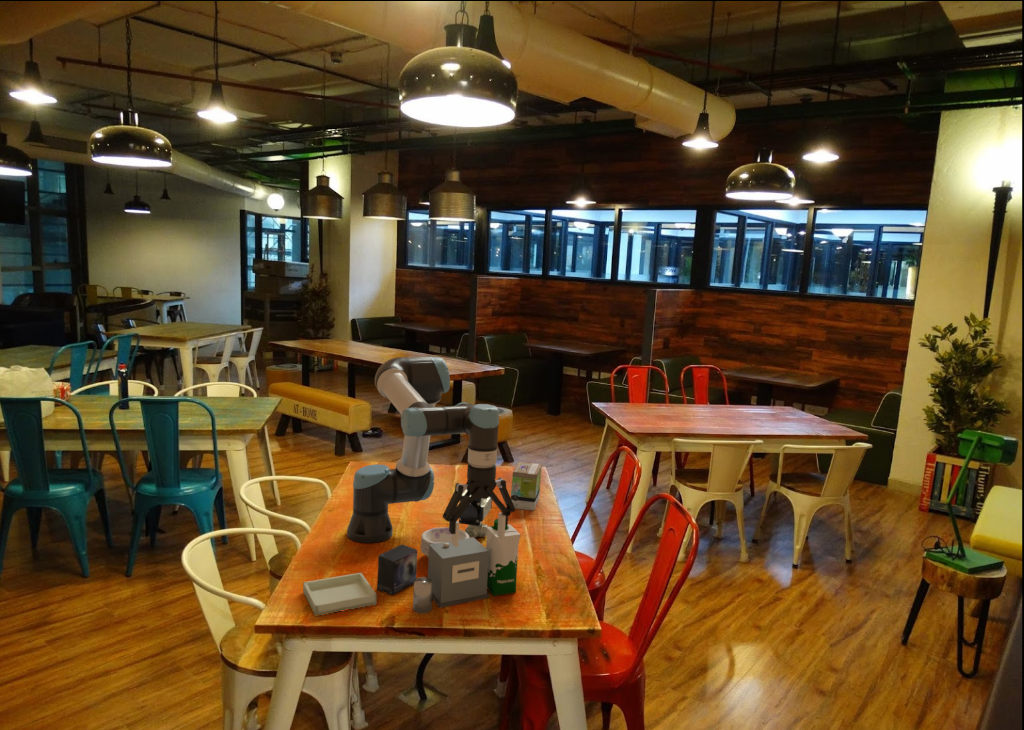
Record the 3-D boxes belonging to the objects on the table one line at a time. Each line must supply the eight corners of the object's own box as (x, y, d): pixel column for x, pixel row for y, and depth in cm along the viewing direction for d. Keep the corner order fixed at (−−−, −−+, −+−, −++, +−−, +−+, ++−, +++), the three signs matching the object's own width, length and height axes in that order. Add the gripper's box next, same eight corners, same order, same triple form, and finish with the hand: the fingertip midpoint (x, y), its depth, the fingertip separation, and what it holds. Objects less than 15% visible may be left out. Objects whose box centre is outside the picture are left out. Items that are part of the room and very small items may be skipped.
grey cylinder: (410, 606, 191) (411, 578, 190) (427, 602, 194) (428, 575, 192) (416, 614, 187) (417, 586, 186) (434, 611, 189) (435, 583, 188)
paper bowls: (450, 545, 233) (451, 522, 232) (477, 562, 221) (479, 538, 220) (411, 555, 223) (412, 532, 222) (437, 573, 212) (438, 548, 210)
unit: (424, 590, 201) (426, 541, 198) (472, 581, 208) (474, 533, 205) (439, 607, 191) (441, 556, 189) (488, 597, 198) (491, 548, 196)
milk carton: (508, 580, 210) (511, 516, 207) (520, 593, 202) (524, 528, 199) (480, 584, 206) (483, 519, 203) (492, 598, 198) (495, 531, 195)
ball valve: (480, 547, 232) (483, 496, 229) (456, 544, 234) (458, 493, 231) (493, 528, 249) (495, 480, 247) (470, 525, 251) (472, 477, 248)
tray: (303, 592, 196) (303, 582, 195) (361, 582, 203) (361, 572, 203) (315, 616, 183) (315, 606, 183) (376, 604, 191) (376, 594, 190)
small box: (393, 596, 196) (394, 561, 194) (375, 589, 199) (376, 555, 198) (417, 582, 205) (418, 549, 203) (400, 576, 208) (401, 543, 207)
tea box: (535, 511, 268) (537, 474, 266) (509, 508, 270) (511, 471, 268) (539, 498, 283) (542, 463, 281) (515, 495, 285) (517, 460, 282)
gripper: (443, 472, 173) (440, 553, 177) (530, 463, 185) (525, 539, 189) (432, 464, 180) (429, 542, 183) (516, 455, 192) (512, 529, 195)
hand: (478, 541), depth 186 cm, fingers open, 13 cm apart
